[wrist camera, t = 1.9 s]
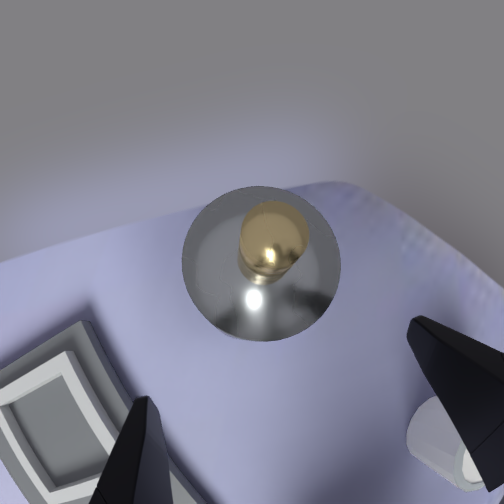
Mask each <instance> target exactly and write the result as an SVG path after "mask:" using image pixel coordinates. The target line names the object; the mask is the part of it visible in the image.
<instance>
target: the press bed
mask: <svg viewBox="0 0 504 504" xmlns="http://www.w3.org/2000/svg"><path fill="white" fill-rule="evenodd" d="M132 405H133V402H132V400H131V398H130V397H129V395H128V393H127V392H126V390H125V388H124V387H123V385H122V383H121V381H120V380H119V378H118V376H117V374H116V372H115V371H114V369H113V367H112V365H111V363H110V361H109V360H108V358H107V356H106V354H105V352H104V350H103V348H102V346H101V344H100V342H99V340H98V338H97V336H96V334H95V332H94V330H93V327H92V325H91V323H90V322H89V321H83V320H80V321H78V322H77V323H75V324H73V325H72V326H70V327H68V328H67V329H65V330H64V331H62V332H60V333H59V334H57V335H55V336H54V337H52V338H51V339H49V340H47V341H46V342H44V343H43V344H41V345H39V346H38V347H36V348H35V349H33V350H31V351H30V352H28V353H27V354H25V355H23V356H22V357H20V358H19V359H17V360H16V361H14V362H13V363H11V364H9V365H8V366H6V367H5V368H3V369H2V370H0V459H1V460H2V462H3V464H4V465H5V467H6V469H7V470H8V472H9V474H10V475H11V477H12V478H13V480H14V482H15V483H16V485H17V486H18V488H19V489H20V491H21V492H22V494H23V495H24V496H25V498H26V499H27V501H28V502H29V503H30V504H89V501H90V499H91V497H92V495H93V492H94V490H95V488H96V487H97V483H98V481H99V478H100V476H101V474H102V471H103V469H104V467H105V464H106V462H107V460H108V458H109V455H110V453H111V451H112V448H113V446H114V444H115V442H116V440H117V437H118V435H119V433H120V431H121V428H122V426H123V424H124V422H125V420H126V418H127V415H128V413H129V411H130V409H131V407H132ZM168 461H169V470H170V480H171V488H172V496H173V504H207V503H206V501H205V500H204V499H203V498H202V497H201V496H200V494H199V493H198V492H197V491H196V490H195V489H194V487H193V486H192V485H191V484H190V482H189V481H188V480H187V479H186V478H185V476H184V475H183V474H182V472H181V471H180V470H179V469H178V467H177V466H176V465H175V463H174V462H173V461H172V459H171V458H170V457H169V455H168Z"/></svg>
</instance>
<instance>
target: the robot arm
mask: <svg viewBox="0 0 504 504" xmlns="http://www.w3.org/2000/svg"><path fill="white" fill-rule="evenodd" d="M407 340H408V343H409V345H410V347H411V349H412V351H413V353H414V355H415V357H416V359H417V361H418V363H419V365H420V367H421V369H422V371H423V373H424V375H425V377H426V378H427V380H428V382H429V383H430V385H431V387H432V388H433V390H434V392H435V393H436V395H437V397H438V398H439V400H440V402H441V403H442V405H443V407H444V409H445V410H446V412H447V414H448V416H449V417H450V419H451V421H452V423H453V424H454V426H455V428H456V430H457V432H458V433H459V435H460V437H461V439H462V441H463V443H464V445H465V446H466V448H467V450H468V452H469V454H470V456H471V458H472V460H473V462H474V464H475V466H476V468H477V470H478V472H479V474H480V476H481V478H482V480H483V482H484V484H485V486H486V488H487V490H488V492H491V491H493V490H494V489H496V488H497V487H499V486H501V485H502V484H504V353H502V352H500V351H498V350H496V349H494V348H492V347H489V346H487V345H485V344H483V343H481V342H479V341H477V340H474V339H472V338H470V337H468V336H466V335H464V334H462V333H459V332H457V331H455V330H453V329H451V328H449V327H446V326H444V325H442V324H440V323H438V322H436V321H433V320H431V319H429V318H427V317H425V316H422V315H420V316H417V317H415V318H412V319H411V321H410V324H409V328H408V331H407ZM89 504H173V496H172V488H171V480H170V470H169V461H168V454H167V449H166V444H165V439H164V434H163V429H162V424H161V419H160V414H159V411H158V409H157V407H156V406H155V404H154V403H153V401H152V400H151V398H150V397H149V396H141V397H137V398H136V399H135V400H134V402H133V405H132V407H131V409H130V411H129V413H128V415H127V418H126V420H125V422H124V424H123V426H122V428H121V431H120V433H119V435H118V437H117V440H116V442H115V444H114V446H113V448H112V451H111V453H110V455H109V458H108V460H107V462H106V464H105V467H104V469H103V471H102V474H101V476H100V478H99V481H98V483H97V487H96V488H95V490H94V492H93V495H92V497H91V499H90V501H89Z"/></svg>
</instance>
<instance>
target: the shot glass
mask: <svg viewBox="0 0 504 504" xmlns="http://www.w3.org/2000/svg"><path fill="white" fill-rule="evenodd" d="M406 445H407V447H408V449H409V451H410V454H412V455H413V456H414V457H416V458H417V459H418V460H420V461H421V462H422V463H424V464H425V465H426V466H428V467H429V468H431V469H432V470H433V471H435V472H436V473H438V474H439V475H440V476H442V477H443V478H445V479H446V480H447V481H449V482H450V483H452V484H453V485H455V486H456V487H458V488H459V489H461V490H463V491H465V492H470V491H475V490H479V489H480V488H482V487H484V486H485V484H484V482H483V480H482V478H481V476H480V474H479V472H478V470H477V468H476V466H475V464H474V462H473V460H472V458H471V456H470V454H469V452H468V450H467V448H466V446H465V445H464V443H463V441H462V439H461V437H460V435H459V433H458V432H457V430H456V428H455V426H454V424H453V423H452V421H451V419H450V417H449V416H448V414H447V412H446V410H445V409H444V407H443V405H442V403H441V402H440V400H439V398H438V397H437V396H434V397H432V398H429V399H428V400H427V401H425V402H424V403H423V404H422V405H421V406H420V407H419V408H418V409H417V411H416V412H415V414H414V415H413V417H412V418H411V420H410V423H409V426H408V429H407V432H406Z"/></svg>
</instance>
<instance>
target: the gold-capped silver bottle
mask: <svg viewBox="0 0 504 504" xmlns="http://www.w3.org/2000/svg"><path fill="white" fill-rule="evenodd" d="M340 270H341V263H340V253H339V248H338V244H337V241H336V238H335V236H334V234H333V231H332V229H331V228H330V226H329V224H328V223H327V221H326V220H325V219H324V217H323V216H322V215H321V214H320V213H319V212H318V211H317V210H316V209H315V208H314V207H313V206H312V205H311V204H309V203H308V202H307V201H306V200H304V199H302V198H301V197H299V196H297V195H295V194H293V193H291V192H288V191H285V190H282V189H278V188H273V187H264V186H254V187H246V188H241V189H237V190H234V191H231V192H229V193H226V194H224V195H222V196H220V197H219V198H217V199H215V200H214V201H212V202H211V203H210V204H209V205H207V206H206V207H205V208H204V209H203V210H202V211H201V212H200V213H199V215H198V216H197V217H196V219H195V220H194V222H193V223H192V225H191V227H190V229H189V231H188V233H187V236H186V239H185V242H184V247H183V253H182V272H183V277H184V282H185V285H186V288H187V291H188V293H189V295H190V297H191V299H192V301H193V303H194V304H195V306H196V307H197V308H198V310H199V311H200V312H201V313H202V314H203V316H204V317H205V318H206V319H207V320H208V321H209V322H211V323H212V324H213V325H214V326H215V327H216V328H217V329H218V330H220V331H221V332H222V333H224V334H225V335H227V336H229V337H232V338H236V339H242V340H250V341H276V340H281V339H285V338H288V337H291V336H293V335H296V334H298V333H300V332H302V331H303V330H305V329H307V328H308V327H310V326H311V325H312V324H313V323H315V322H316V321H317V320H318V319H319V318H320V317H321V316H322V315H323V314H324V312H325V311H326V310H327V308H328V307H329V305H330V303H331V302H332V300H333V298H334V296H335V293H336V290H337V288H338V283H339V279H340Z"/></svg>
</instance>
